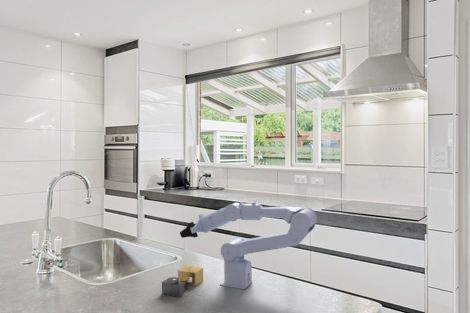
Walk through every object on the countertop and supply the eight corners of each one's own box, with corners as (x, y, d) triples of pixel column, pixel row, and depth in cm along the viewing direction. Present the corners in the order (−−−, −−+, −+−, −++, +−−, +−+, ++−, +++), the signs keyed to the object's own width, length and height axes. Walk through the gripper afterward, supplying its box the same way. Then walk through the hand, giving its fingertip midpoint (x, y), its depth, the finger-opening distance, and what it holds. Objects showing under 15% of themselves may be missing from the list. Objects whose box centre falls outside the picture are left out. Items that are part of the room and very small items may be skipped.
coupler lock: (203, 280, 134) (203, 267, 133) (195, 286, 128) (195, 273, 128) (186, 278, 136) (186, 265, 136) (178, 283, 131) (177, 270, 131)
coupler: (193, 287, 127) (192, 273, 127) (178, 298, 118) (178, 282, 118) (175, 285, 129) (175, 271, 129) (160, 294, 121) (160, 279, 121)
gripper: (219, 205, 141) (192, 217, 146) (200, 214, 128) (171, 227, 133) (226, 222, 140) (199, 234, 146) (208, 233, 127) (179, 245, 133)
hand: (186, 232), depth 139 cm, fingers open, 7 cm apart
